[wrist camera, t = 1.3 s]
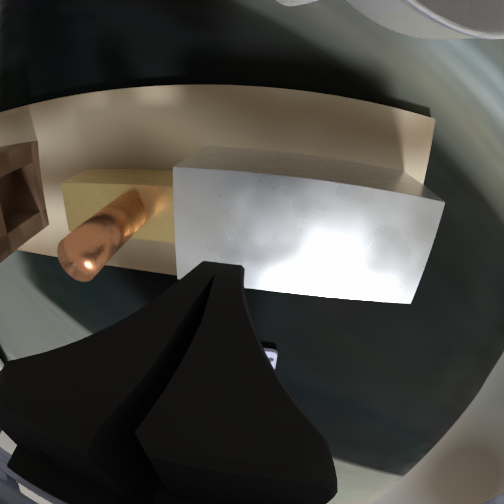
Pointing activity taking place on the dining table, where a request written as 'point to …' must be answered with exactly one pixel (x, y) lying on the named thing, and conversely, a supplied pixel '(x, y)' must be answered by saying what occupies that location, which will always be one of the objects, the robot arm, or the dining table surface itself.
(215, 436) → the robot arm
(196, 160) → the steel block
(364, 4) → the teacup
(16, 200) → the walnut socket
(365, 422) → the dining table surface
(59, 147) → the birch board
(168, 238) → the gold square bar
